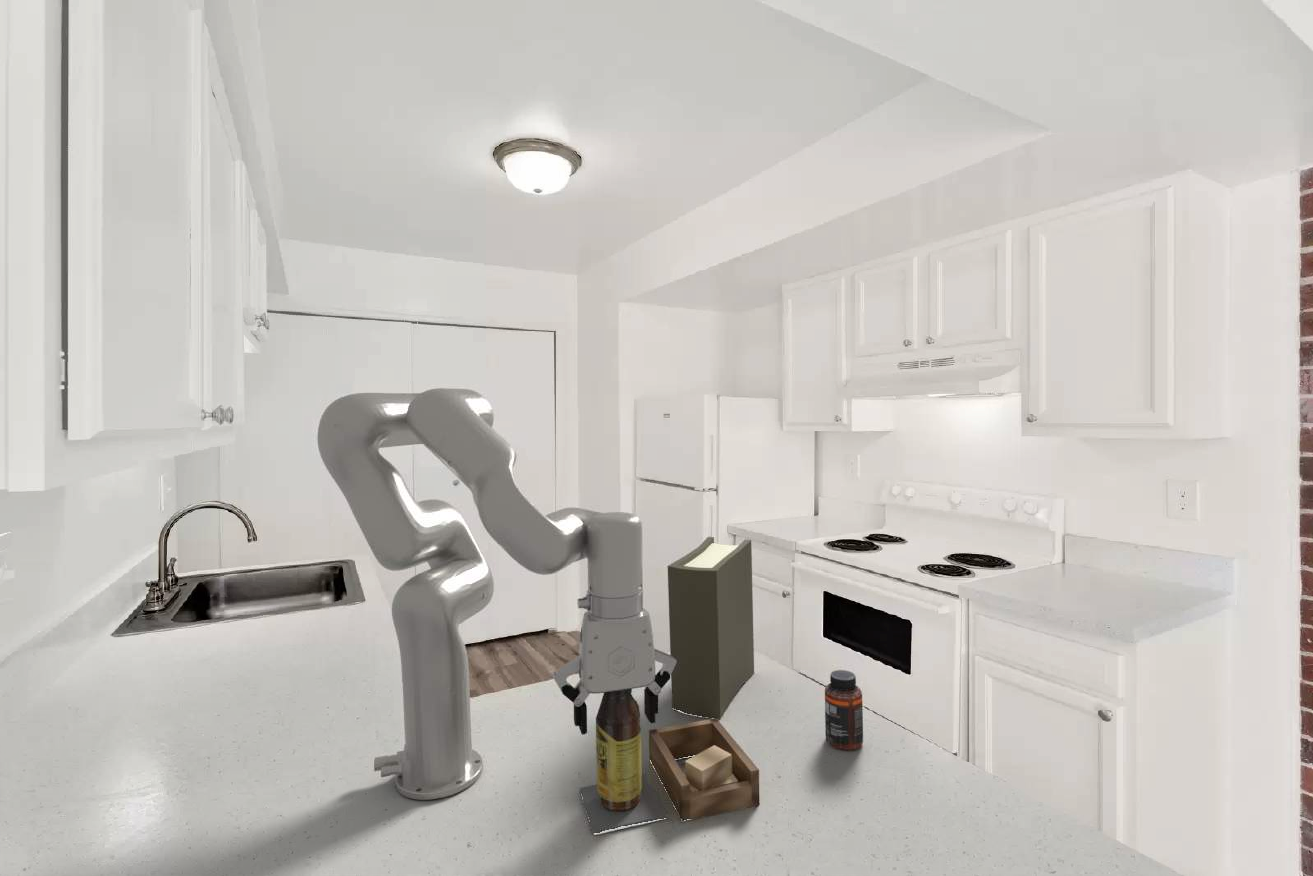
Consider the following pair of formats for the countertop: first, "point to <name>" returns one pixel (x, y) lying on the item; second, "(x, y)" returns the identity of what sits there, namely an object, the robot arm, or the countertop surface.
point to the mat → (612, 819)
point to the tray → (692, 742)
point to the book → (711, 626)
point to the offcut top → (708, 768)
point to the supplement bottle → (843, 711)
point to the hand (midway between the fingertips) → (616, 724)
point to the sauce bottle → (618, 751)
